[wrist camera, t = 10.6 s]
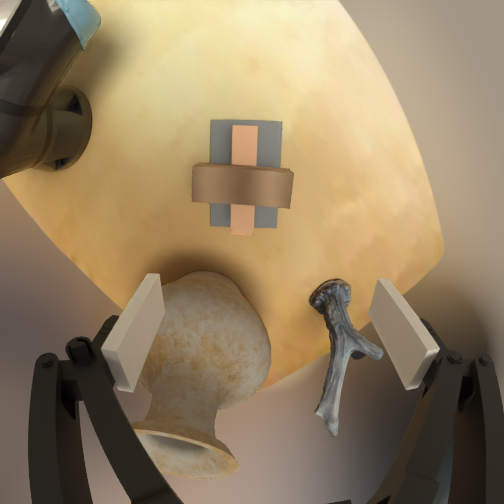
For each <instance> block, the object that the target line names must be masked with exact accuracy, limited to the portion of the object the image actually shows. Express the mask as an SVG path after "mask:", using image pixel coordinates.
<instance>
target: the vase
mask: <svg viewBox="0 0 504 504" xmlns="http://www.w3.org/2000/svg"><path fill="white" fill-rule="evenodd" d="M161 288H162V295H163V301H164V307H165V314H164V316H163V318H162V321H161V323H160V326H159V328H158V330H157V333H156V335H155V338H154V340H153V342H152V345H151V347H150V350H149V352H148V355H147V357H146V360H145V362H144V365H143V367H142V370H141V373H140V375H139V378H138V380H137V381H138V382H139V383H140V384H141V385H142V386H143V387H144V388H145V389H146V390H147V391H149V392H150V393H151V394H152V401H151V405H150V408H149V411H148V414H147V415H146V417H145V419H144V420H143V421H137V422H133V423H130V424H131V426H132V428H133V430H134V431H135V433H136V435H137V437H138V438H139V440H140V442H141V443H142V445H143V447H144V448H145V450H146V451H147V453H148V455H149V456H150V458H151V459H152V461H153V462H154V464H155V465H156V467H157V468H158V470H159V471H160V473H163V474H167V475H171V476H176V477H182V478H188V479H216V478H222V477H225V476H228V475H231V474H232V473H234V472H235V471H236V470H237V469H238V463H237V461H236V460H235V458H234V456H233V455H232V453H231V452H230V450H229V449H228V448H227V446H226V445H225V444H223V443H222V442H221V441H219V440H218V439H216V437H215V429H214V424H215V417H216V413H217V410H221V409H226V408H229V407H232V406H235V405H237V404H239V403H241V402H243V401H245V400H247V399H248V398H249V397H251V396H252V395H253V394H254V393H255V392H256V391H257V390H258V389H259V388H260V387H261V386H262V384H263V383H264V381H265V379H266V378H267V375H268V372H269V368H270V364H271V344H270V340H269V337H268V333H267V330H266V328H265V326H264V324H263V322H262V320H261V318H260V316H259V314H258V313H257V312H256V310H255V309H254V308H253V306H252V305H251V304H250V303H249V302H248V301H247V300H246V299H245V298H244V297H243V294H242V292H241V290H240V289H239V288H238V286H237V285H236V284H235V283H234V282H233V281H231V280H230V279H228V278H227V277H225V276H223V275H221V274H218V273H215V272H209V271H196V272H191V273H188V274H186V275H184V276H182V277H181V278H179V279H178V280H176V281H173V282H170V283H168V284H165V285H162V286H161Z"/></svg>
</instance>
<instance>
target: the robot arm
mask: <svg viewBox="0 0 504 504" xmlns="http://www.w3.org/2000/svg"><path fill="white" fill-rule="evenodd" d="M100 23H101V17H100V14H99V13H98V11H97V10H96V9H95V8H94V7H93V6H92V5H91V4H90V3H89V2H88V1H87V0H0V179H1V178H3V177H6V176H9V175H11V174H14V173H17V172H20V171H23V170H26V169H29V168H33V169H38V170H43V171H48V172H53V171H58V170H61V169H65V168H67V167H69V166H71V165H72V164H73V163H75V162H76V161H77V160H78V159H79V157H80V156H81V155H82V153H83V152H84V150H85V148H86V146H87V143H88V141H89V138H90V134H91V128H92V114H91V108H90V105H89V102H88V100H87V98H86V97H85V95H84V94H83V93H82V92H81V91H79V90H78V89H76V88H73V87H67V86H58V85H59V84H60V82H61V80H62V79H63V77H64V76H65V74H66V73H67V71H68V70H69V68H70V67H71V65H72V64H73V62H74V61H75V60H76V58H77V57H78V55H79V54H80V53H81V51H84V49H85V48H86V44H87V43H88V42H89V40H90V39H91V38H92V36H93V35H94V34H95V32H96V31H97V30H98V28H99V26H100ZM164 314H165V307H164V301H163V295H162V288H161V281H160V274H154V273H147V275H146V276H145V278H144V279H143V281H142V282H141V284H140V285H139V287H138V289H137V290H136V292H135V293H134V295H133V296H132V298H131V299H130V301H129V303H128V304H127V306H126V307H125V309H124V311H123V312H122V314H121V315H120V316H116V315H112V316H111V317H110V318H108V319H107V320H106V321H105V322H104V324H103V326H102V328H101V329H100V330H99V332H98V334H97V335H96V337H95V338H94V340H93V341H92V342H91V341H90V339H89V338H87V337H76V338H74V339H72V340H70V341H69V342H68V343H67V345H66V348H65V351H66V353H67V355H68V357H69V359H70V360H62V361H59V359H58V357H57V356H56V355H55V354H53V353H45V354H43V355H41V356H40V357H39V358H38V359H37V360H36V363H35V368H34V375H33V382H32V390H31V399H30V411H29V430H28V431H29V432H28V462H29V479H30V490H31V498H32V504H93V501H92V497H91V493H90V488H89V484H88V479H87V473H86V467H85V462H84V455H83V448H82V439H81V429H80V417H79V401H84V404H85V406H86V409H87V412H88V414H89V417H90V419H91V422H92V425H93V427H94V429H95V432H96V434H97V436H98V439H99V441H100V443H101V445H102V447H103V450H104V452H105V454H106V456H107V458H108V460H109V462H110V464H111V466H112V468H113V470H114V472H115V474H116V475H117V477H118V479H119V481H120V483H121V484H122V486H123V488H124V490H125V491H126V493H127V495H128V496H129V498H130V500H131V504H184V503H183V502H182V501H181V500H180V498H179V497H178V496H177V495H176V493H175V492H174V491H173V489H172V488H171V487H170V485H169V484H168V483H167V481H166V480H165V478H164V477H163V476H162V474H161V473H160V471H159V470H158V468H157V467H156V465H155V464H154V462H153V461H152V459H151V458H150V456H149V455H148V453H147V451H146V450H145V448H144V447H143V445H142V443H141V442H140V440H139V438H138V437H137V435H136V433H135V431H134V430H133V428H132V426H131V424H130V423H129V421H128V419H127V417H126V415H125V413H124V411H123V409H122V407H121V405H120V403H119V401H118V399H117V397H116V395H115V393H114V391H113V389H112V388H113V386H114V383H116V385H117V387H118V390H122V391H128V392H132V393H133V391H134V388H135V385H136V383H137V380H138V378H139V375H140V373H141V370H142V367H143V365H144V362H145V360H146V357H147V355H148V352H149V350H150V347H151V345H152V342H153V340H154V338H155V335H156V333H157V330H158V328H159V326H160V323H161V321H162V318H163V316H164ZM368 316H369V318H370V320H371V322H372V323H373V325H374V327H375V329H376V331H377V333H378V334H379V336H380V338H381V340H382V342H383V344H384V346H385V348H386V350H387V352H388V354H389V356H390V358H391V360H392V362H393V364H394V366H395V368H396V370H397V372H398V374H399V376H400V378H401V381H402V383H403V385H404V387H405V389H406V390H409V389H414V388H417V387H418V386H419V385H420V383H421V381H422V380H423V381H424V383H425V387H424V388H423V389H422V391H421V392H420V394H419V396H418V397H417V399H419V397H420V399H419V401H418V404H417V407H416V410H415V412H414V415H413V418H412V420H411V422H410V425H409V427H408V430H407V432H406V434H405V437H404V439H403V441H402V443H401V445H400V448H399V450H398V452H397V454H396V456H395V458H394V460H393V462H392V464H391V466H390V468H389V470H388V472H387V474H386V475H385V477H384V479H383V481H382V483H381V484H380V486H379V488H378V490H377V491H376V493H375V494H374V495H373V496H372V498H371V499H370V500H369V501H368V502H367V503H366V504H432V502H433V500H434V498H435V495H436V493H437V491H438V487H439V482H437V481H436V477H437V474H438V471H439V469H440V466H441V463H442V460H443V457H444V454H445V451H446V447H447V444H448V441H449V437H450V434H451V430H452V426H453V422H454V446H453V465H452V475H451V484H450V492H449V498H448V504H504V412H503V406H502V400H501V395H500V390H499V385H498V380H497V376H496V372H495V368H494V364H493V361H492V359H491V358H490V357H489V355H487V354H485V353H482V352H481V353H480V352H479V353H477V354H476V355H475V357H474V358H473V360H469V359H463V357H462V356H461V355H460V354H459V353H458V352H456V351H453V350H448V349H447V348H446V346H445V344H444V343H443V342H442V340H441V339H440V337H439V336H438V335H437V333H436V332H435V331H434V330H433V328H432V326H431V325H430V324H429V323H428V322H427V321H426V320H424V319H423V318H418V316H417V315H416V314H415V313H414V311H413V310H412V308H411V307H410V306H409V304H408V303H407V302H406V301H405V299H404V298H403V297H402V295H401V294H400V293H399V291H398V290H397V289H396V288H395V286H394V285H393V284H392V283H391V281H390V280H389V279H388V278H378V280H377V283H376V287H375V291H374V295H373V298H372V302H371V306H370V309H369V312H368ZM329 504H351V500H346V501H341V502H335V503H329Z"/></svg>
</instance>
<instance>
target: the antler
mask: <svg viewBox="0 0 504 504" xmlns="http://www.w3.org/2000/svg"><path fill="white" fill-rule="evenodd" d="M350 300H351V286H349V285H347V283H345V282H344V281H341V280H336V281H333V280H332V281H329V282H326V283H324V284H323V285H322V286H321V287H319V289H317V291H315V292H314V293H313V296H312V297H311V298H310V300H309V303H310V305H311V306H313V307H314V308H315V309H316V310H317V311H318V312H319V313H320V314H323V315H324V319H325V322H326V327H327V328H328V329H329V338H330V342H331V348H330V350H331V360H330V364H329V368H328V372H327V376H326V379H325V383H324V387H323V394H322V397H321V402H320V403H319V404H318V407H317V408H316V410H315V411H314V412H315V414H316V415H318V416H321V417H322V418H323V421H324V424H325V427H326V429H327V430H328V431H329V432H330V433H331V435H332V436H333V437H334V436H335V435H337V432H338V423H339V420H338V409H339V401H340V394H341V388H342V384H343V379H344V374H345V369H346V365H347V362H348V359H349V356H350V355H351V353H352V352H354V351H361V352H363V353H365V354H367V355H369V356H370V357H371V358H373V359H374V360H379V359H380V358H381V357H382V355H383V351H382V349H381V348H379V347H377V346H376V345H375V344H373V343H371V342H368V341H367V340H366V338H364V337H363V336H362V335H361V334H360V333H359V332H358V331H357V330H356V329H354V328H353V325H352V324H351V321H350V318H349V316H348V313H347V310H346V307H347V306H348V305H349V301H350Z"/></svg>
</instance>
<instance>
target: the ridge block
mask: <svg viewBox="0 0 504 504" xmlns="http://www.w3.org/2000/svg"><path fill="white" fill-rule="evenodd" d="M281 139H282V122H278V121H259V120H211V141H210V163H215V164H234V165H249V166H262V167H273V168H280V159H281ZM277 210H278V208H277V207H265V206H252V205H238V204H222V203H210V226H223V227H231V234H232V235H254V227H256V228H276V225H277Z"/></svg>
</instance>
